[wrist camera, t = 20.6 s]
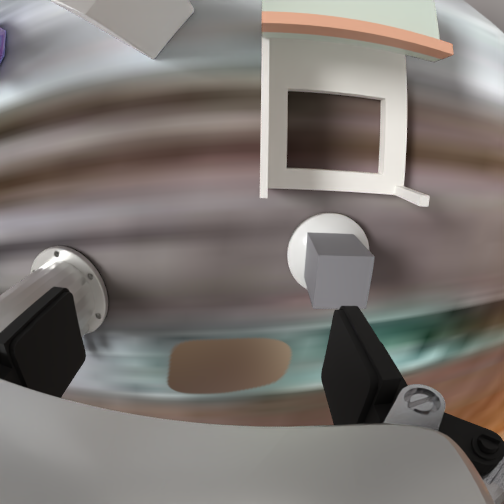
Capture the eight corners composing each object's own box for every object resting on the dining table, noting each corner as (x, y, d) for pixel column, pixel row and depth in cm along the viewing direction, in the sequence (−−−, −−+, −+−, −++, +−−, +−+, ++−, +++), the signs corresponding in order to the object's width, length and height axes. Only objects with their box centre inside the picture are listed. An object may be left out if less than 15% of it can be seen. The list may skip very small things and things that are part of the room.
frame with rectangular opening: (397, 193, 32) (428, 206, 25) (260, 186, 32) (259, 197, 25) (394, -5, 24) (419, -30, 17) (262, -22, 24) (262, -56, 17)
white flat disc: (361, 289, 36) (363, 293, 35) (285, 289, 36) (285, 293, 35) (370, 214, 33) (373, 216, 32) (288, 210, 33) (289, 212, 32)
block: (348, 277, 34) (366, 308, 28) (303, 277, 34) (312, 308, 28) (353, 234, 33) (374, 256, 26) (307, 232, 33) (318, 255, 26)
